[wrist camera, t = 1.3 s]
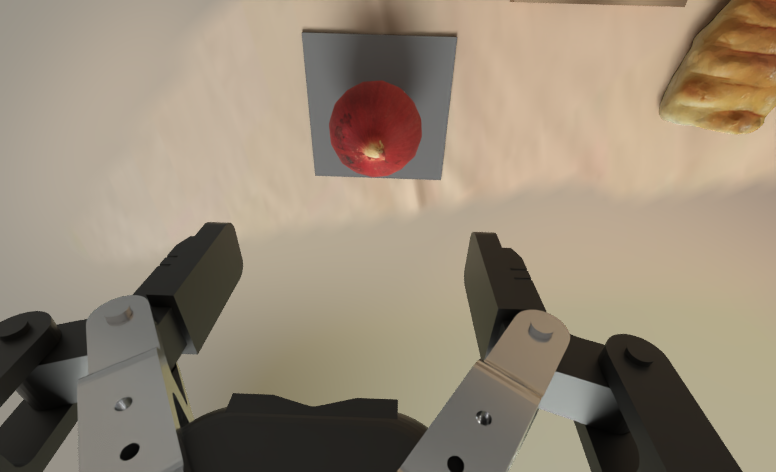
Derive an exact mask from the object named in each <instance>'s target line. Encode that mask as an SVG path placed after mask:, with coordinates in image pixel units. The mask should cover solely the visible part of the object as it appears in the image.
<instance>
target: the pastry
mask: <svg viewBox="0 0 776 472" xmlns="http://www.w3.org/2000/svg"><path fill="white" fill-rule="evenodd" d="M775 106H776V0H731V1H730V2H729V3H728V4H727V5H726V6H725V7H724V8H723V9H722V10H721V11H720V12H719V13H718V14H717V15H716V17H715V18H714V19H713V20H712V21H711V23H710V24H709V25H707V26H706V27H705V28H704V29H702V30H701V31H700V32H699V33H698V35H697V36H696V37H695V38H694V40H693V45H692V47H691V49H690V50H689V52H688V53H687V54H686V56H685V58H684V59H683V61H682V63H681V65H680V66H679V68H678V70H677V71H676V72H675V74H674V76H673V77H672V80H671V81H670V83H669V85H668V88H667V90H666V91H665V93H664V96H663V100H662V102H661V104H660V109H659V115H660V117H661V118H662V119H663V120H665V121H668V122H672V123H675V124H679V125H690V126H694V127H700V128H704V129H707V130H714V131H717V132H723V133H727V134H747V133H751V132H753V131H755V130H757V129H758V128H759V127H760V126H762V125H763V123H764V119H765V117H766V116H767V115H768V113H769V112H770V111H771V110H772V109H773V108H774V107H775Z"/></svg>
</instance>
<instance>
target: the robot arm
mask: <svg viewBox="0 0 776 472" xmlns="http://www.w3.org/2000/svg"><path fill="white" fill-rule="evenodd" d="M242 270H243V260H242V256H241V252H240V248H239V244H238V240H237V236H236V232H235V228H234V226H233V225H232V224H231V223H217V222H207V223H205V224H204V226H203V227H202V228H201V229H200V230H199V232H198V233H197V234H196V235H195V236H190V237H189V238H187V239H185V240H184V241H182V242H181V243H179V244H177V245H176V246H175V247H174V248H173V250H172V251H171V252H170V253H169V254H168V255H167V258H165V259H164V260H163V261H162V262H161V263H160V266H158V267H157V268H156V269H155V270H154V271H153V272H152V273H151V275H150V276H149V277H148V278H147V279H146V280H145V281H144V282H143V284H142V285H141V286H140V287H139V288H138V289H137V290H136V292H135V293H134V294H133V295H128V296H122V297H119V298H115V299H113V300H110V301H108V302H107V303H104V304H103V305H101V306H99V307H98V308H97V309H96V310H94V311H93V312H92V313H91V314H90V316H89V317H88V319H85V320H79V321H74V322H69V323H64V324H59V325H56V323H55V322H54V320H53V319H52V317H51V316H50V315H49V314H48V313H45V312H40V311H34V312H27V313H23V314H19V315H16V316H13V317H10V318H8V319H6V320H4V321H2V322H0V407H1V406H2V405H3V403H5V401H6V400H7V399H8V398H9V397H10V396H11V395H12V394H13V392H14V391H15V390H16V391H17V392H18V393H19V395H20V396H21V397H22V398H23V399H24V400H23V401H22V402H21V403H20V404H19V406H18V407H17V408H16V409H15V410H14V411H13V413H12V414H11V415H10V416H9V417H8V418H7V420H6V421H5V422H4V423H3V424H2V425H1V427H0V472H43V470H44V469H45V468H46V466H47V465H48V463H49V462H50V460H51V459H52V457H53V456H54V454H55V453H56V451H57V450H58V449H59V447H60V445H61V444H62V443H63V441H64V440H65V438H66V437H67V435H68V434H69V433H70V431H71V429H72V428H73V427H74V425H75V424H76V422H77V421H78V453H79V454H78V455H79V472H509V471H510V469H511V467H512V465H513V462H514V460H515V458H516V456H517V454H518V452H519V450H520V448H521V446H522V444H523V442H524V440H525V437H526V435H527V433H528V431H529V429H530V427H531V425H532V423H533V421H534V419H535V417H536V415H537V412H538V411H539V409H542V410H545V411H548V412H551V413H554V414H557V415H559V416H562V417H565V418H568V419H571V420H574V423H575V425H576V428H577V431H578V434H579V437H580V440H581V443H582V446H583V449H584V452H585V455H586V458H587V460H588V463H589V466H590V469H591V472H742V470H741V469H740V467H739V466H738V464H737V463H736V461H735V460H734V458H733V457H732V455H731V453H730V452H729V450H728V449H727V447H726V446H725V444H724V443H723V442H722V440H721V439H720V437H719V435H718V434H717V432H716V431H715V429H714V428H713V426H712V425H711V423H710V422H709V420H708V419H707V417H706V416H705V414H704V413H703V411H702V409H701V408H700V406H699V405H698V403H697V402H696V400H695V399H694V397H693V396H692V394H691V393H690V391H689V390H688V388H687V387H686V385H685V384H684V382H683V381H682V379H681V378H680V376H679V375H678V373H677V372H676V370H675V369H674V367H673V366H672V364H671V363H670V361H669V359H668V358H667V357H666V356H665V354H664V353H663V352H662V351H661V350H659V349H658V348H657V347H656V346H654V345H653V344H651V343H650V342H648V341H646V340H644V339H642V338H639V337H636V336H633V335H627V334H618V335H614V336H611V337H610V338H609V339H608V340H607V342H606V344H605V345H603V344H600V343H596V342H593V341H589V340H585V339H582V338H579V337H576V336H573V335H571V334H570V333H569V331H568V329H567V327H566V326H565V325H564V324H563V322H561V321H560V320H559V319H558V318H556V317H555V316H553V315H551V314H549V313H547V312H546V310H545V307H544V305H543V303H542V301H541V299H540V297H539V294H538V292H537V290H536V288H535V286H534V283H533V281H532V280H531V277H530V275H529V273H528V271H527V268H526V266H525V264H524V262H523V260H522V258H521V257H520V256H519V255H518V254H517V253H516V252H515V251H513V250H512V249H511V248H502V247H501V244H500V242H499V239H498V237H497V234H496V233H486V232H473V233H472V234H471V237H470V243H469V249H468V254H467V260H466V265H465V271H464V281H465V282H464V283H465V289H466V293H467V298H468V302H469V307H470V312H471V316H472V321H473V325H474V330H475V334H476V338H477V343H478V347H479V352H480V356H481V359H479V360H478V361H477V362H476V363H475V365H474V366H473V367H472V368H471V370H470V371H469V372H468V374H467V375H466V377H465V378H464V380H463V381H462V382H461V384H460V385H459V386H458V388H457V389H456V390H455V392H454V393H453V395H452V396H451V398H450V399H449V400H448V402H447V403H446V405H445V406H444V407H443V409H442V410H441V411H440V413H439V414H438V415H437V417H436V418H435V420H434V421H433V422H432V424H431V425H430V427H429V428H427V427H426V426H425V425H423V424H422V423H420V422H418V421H417V420H415V419H413V418H411V417H409V416H406V415H403V414H400V413H398V412H397V411H398V409H397V408H398V400H393V399H367V398H355V399H350V400H346V401H340V402H336V403H331V404H326V405H321V406H316V407H312V406H308V405H304V404H301V403H298V402H294V401H291V400H288V399H285V398H282V397H279V396H275V395H263V394H236V393H233V394H232V397H231V399H230V402H229V404H228V406H227V407H225V408H221V409H218V410H215V411H212V412H210V413H207V414H205V415H203V416H201V417H199V418H197V419H194V416H193V413H192V410H191V407H190V403H189V400H188V396H187V393H186V389H185V385H184V382H183V379H182V375H181V372H180V368H179V366H178V364H177V360H178V359H179V357H180V356H181V354H198V353H199V351H200V349H201V348H202V346H203V344H204V342H205V340H206V339H207V337H208V335H209V333H210V331H211V330H212V328H213V326H214V324H215V322H216V321H217V319H218V317H219V315H220V313H221V312H222V310H223V308H224V306H225V305H226V302H227V301H228V299H229V297H230V295H231V293H232V292H233V290H234V288H235V286H236V285H237V283H238V281H239V279H240V277H241V275H242Z"/></svg>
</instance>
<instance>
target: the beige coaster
mask: <svg viewBox="0 0 776 472" xmlns="http://www.w3.org/2000/svg"><path fill="white" fill-rule="evenodd" d="M510 2H533V3H568V4H603V5H637V6H672V7H685V5H686V2H687V0H510Z"/></svg>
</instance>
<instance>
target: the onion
mask: <svg viewBox="0 0 776 472" xmlns="http://www.w3.org/2000/svg"><path fill="white" fill-rule="evenodd" d="M329 131H330V140H331V145H332V147H333V149H334V150H335V152H336V154H337V156H338V157H339V159H340V161H341V162H342V164H344V165H345V166H347V167H348V168H350V169H351V170H353V171H355V172H356V173H359V174H362V175H366V176H370V177H380V176H389V175H391V174H393V173H395V172H397V171H399V170H401V169H402V168H403V167H404V166H405V165H406V164H407V163H408V162H409V161H410V160H411V159H413V158H414V157H415V155H416V152H417V149H418V146H419V144H420V141H421V138H422V124H421V117H420V115H419V113H418V110H417V108H416V106H415V103H414V102H413V100H412V99H411V98H410V97H409V96H408V95H407V94H406V93H405V92H404V91H403V90H402V89H401V88H399V87H397V86H394V85H392V84H390V83H387V82H385V81H382V80H381V81H367V82H362V83H360V84H358V85H356V86H354V87H352V88H350V89H348V90H347V91H346V92H345V93H344V94H343V95H342V96H341V97H340V98H339V100H338V101H337V102H336V103H335V105H334V108H333V111H332V115H331V118H330V121H329Z"/></svg>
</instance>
